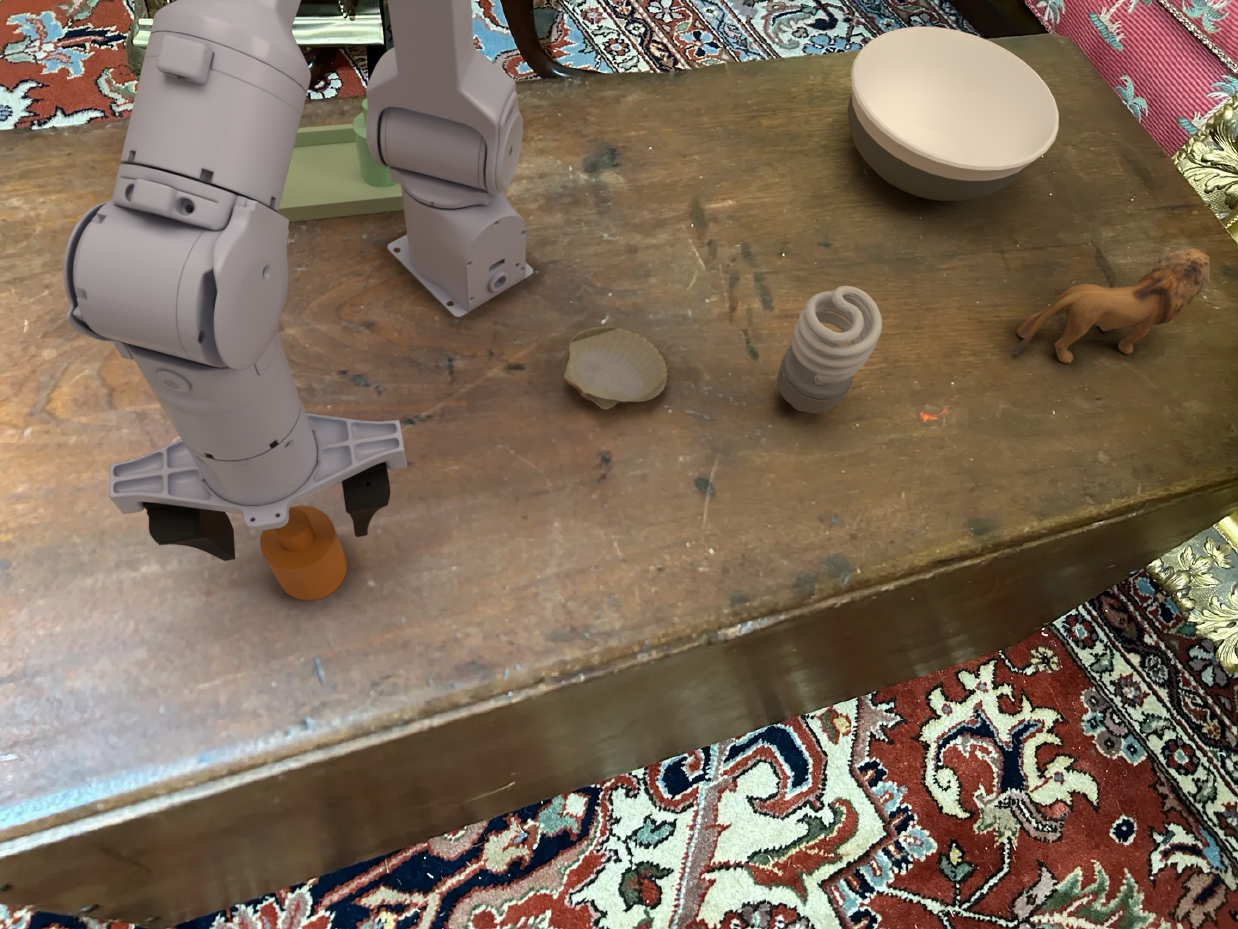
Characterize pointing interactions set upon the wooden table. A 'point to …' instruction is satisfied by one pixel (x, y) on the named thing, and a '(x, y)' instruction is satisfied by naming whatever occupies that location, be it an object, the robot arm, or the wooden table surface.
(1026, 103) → the bowl
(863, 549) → the wooden table surface
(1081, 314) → the lion figurine
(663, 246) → the wooden table surface
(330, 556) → the amber bottle
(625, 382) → the seashell
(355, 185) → the tray
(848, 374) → the light bulb
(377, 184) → the green bottle
